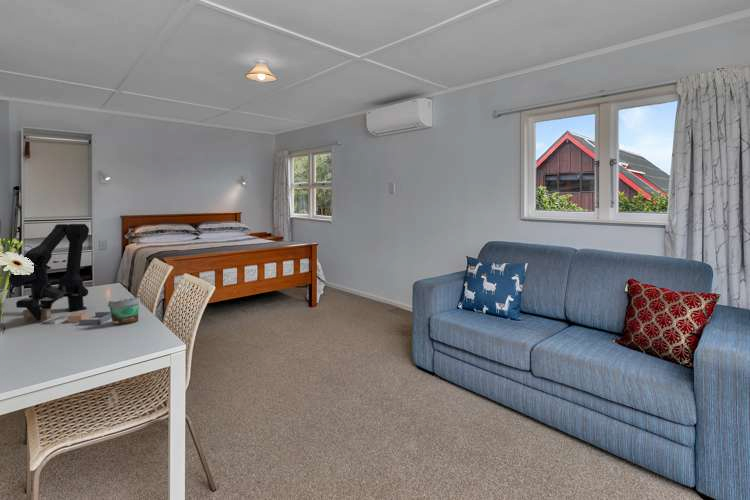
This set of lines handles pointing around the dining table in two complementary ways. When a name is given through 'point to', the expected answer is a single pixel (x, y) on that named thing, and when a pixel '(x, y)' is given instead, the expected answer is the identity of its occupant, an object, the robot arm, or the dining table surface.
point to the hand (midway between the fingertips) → (42, 318)
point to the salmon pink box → (77, 317)
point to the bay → (104, 315)
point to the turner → (43, 317)
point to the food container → (124, 311)
